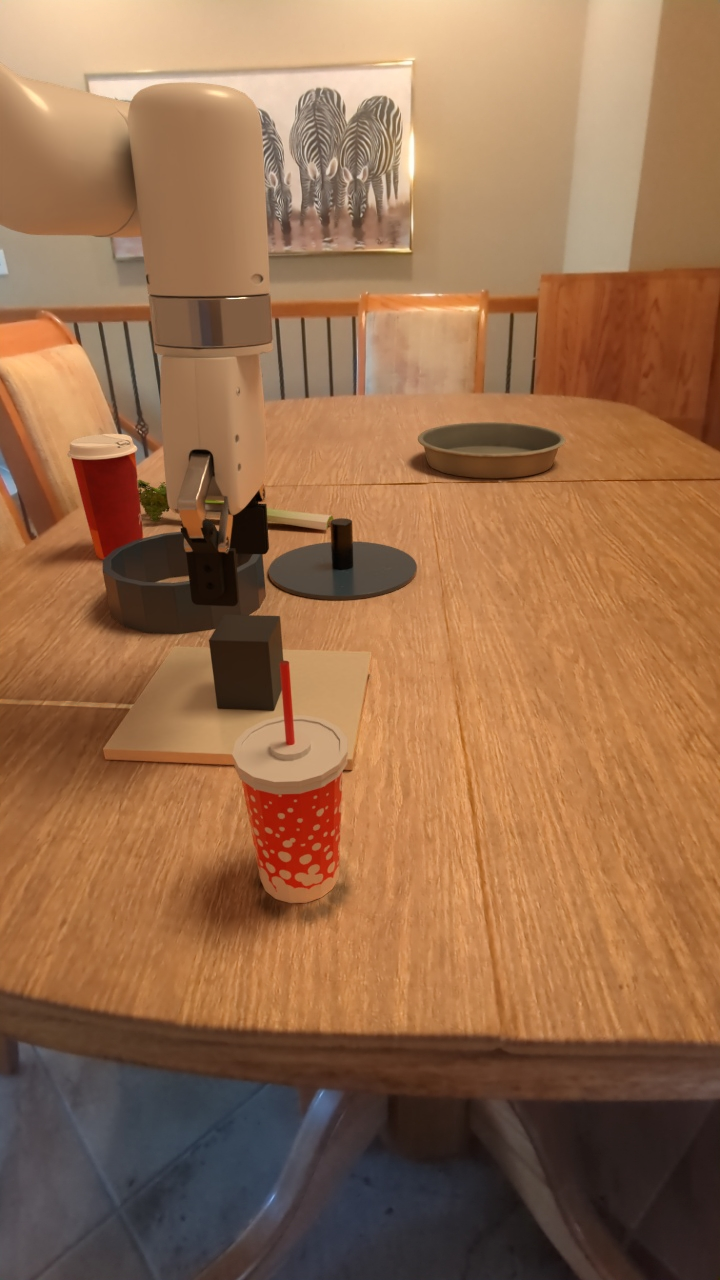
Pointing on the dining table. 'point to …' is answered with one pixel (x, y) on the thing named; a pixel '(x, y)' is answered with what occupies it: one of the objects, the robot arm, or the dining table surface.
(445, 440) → the cake pan
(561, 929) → the dining table surface
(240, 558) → the pot
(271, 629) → the block
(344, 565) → the lid
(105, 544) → the paper cup
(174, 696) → the board
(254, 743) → the beverage cup
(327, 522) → the celery stalk
